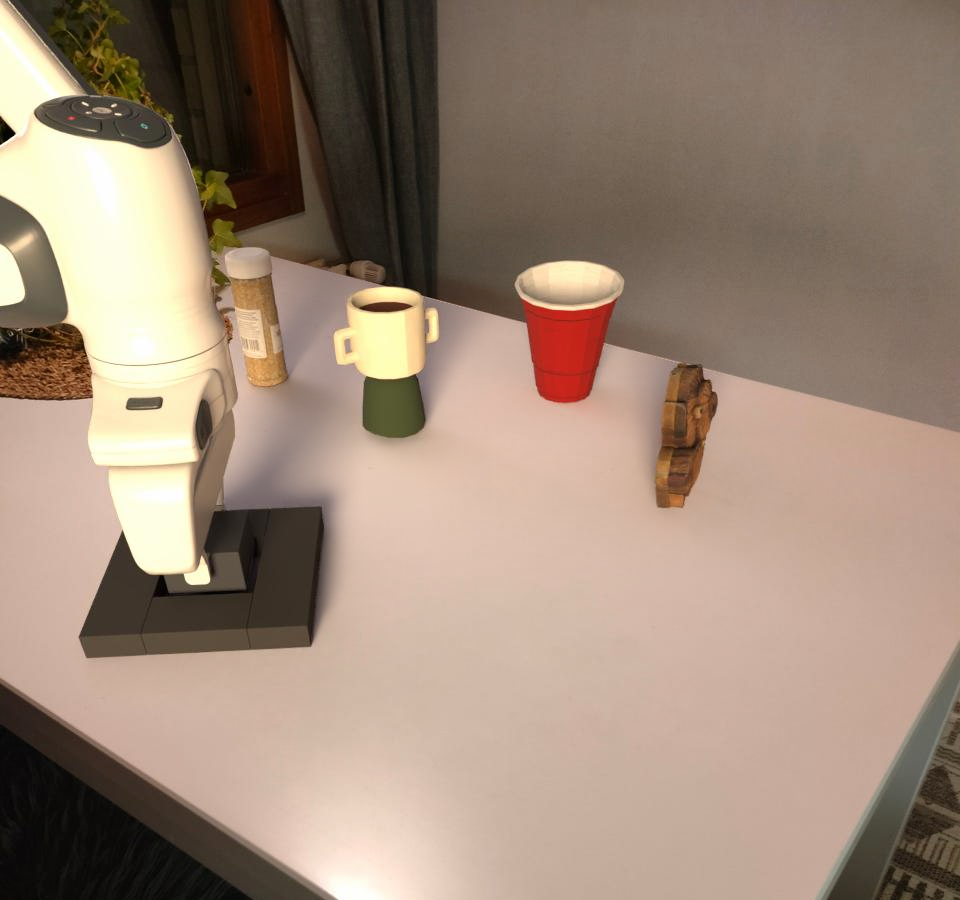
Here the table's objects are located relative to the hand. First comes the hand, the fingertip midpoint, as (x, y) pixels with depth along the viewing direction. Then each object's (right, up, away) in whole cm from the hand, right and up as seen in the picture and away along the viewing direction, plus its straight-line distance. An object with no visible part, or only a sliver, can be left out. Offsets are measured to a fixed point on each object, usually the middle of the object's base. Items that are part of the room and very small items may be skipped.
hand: (208, 551), depth 70 cm
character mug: (+12, +14, +22) cm, 29 cm away
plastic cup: (+30, +20, +28) cm, 45 cm away
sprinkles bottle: (-3, +22, +31) cm, 38 cm away
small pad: (0, -1, +1) cm, 2 cm away
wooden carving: (+39, +8, +14) cm, 42 cm away
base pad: (0, -3, +2) cm, 3 cm away
